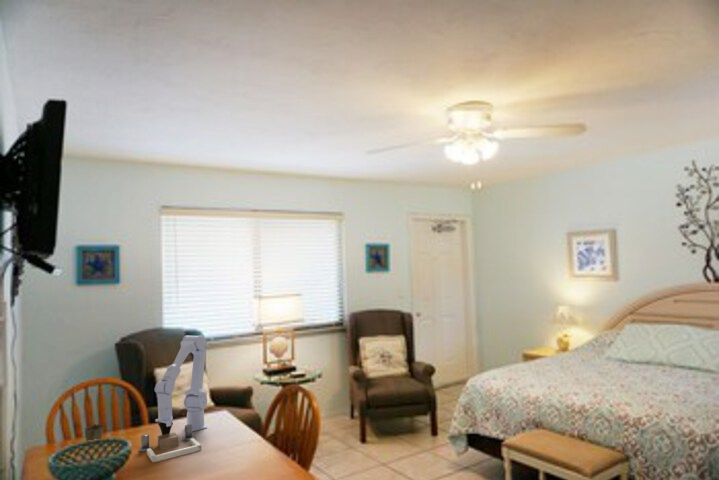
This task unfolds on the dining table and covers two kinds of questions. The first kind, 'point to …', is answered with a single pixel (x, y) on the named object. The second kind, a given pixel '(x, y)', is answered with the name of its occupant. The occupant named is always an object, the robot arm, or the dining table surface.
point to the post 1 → (144, 443)
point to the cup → (94, 432)
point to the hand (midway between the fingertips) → (165, 439)
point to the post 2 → (188, 433)
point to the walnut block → (168, 441)
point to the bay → (174, 452)
